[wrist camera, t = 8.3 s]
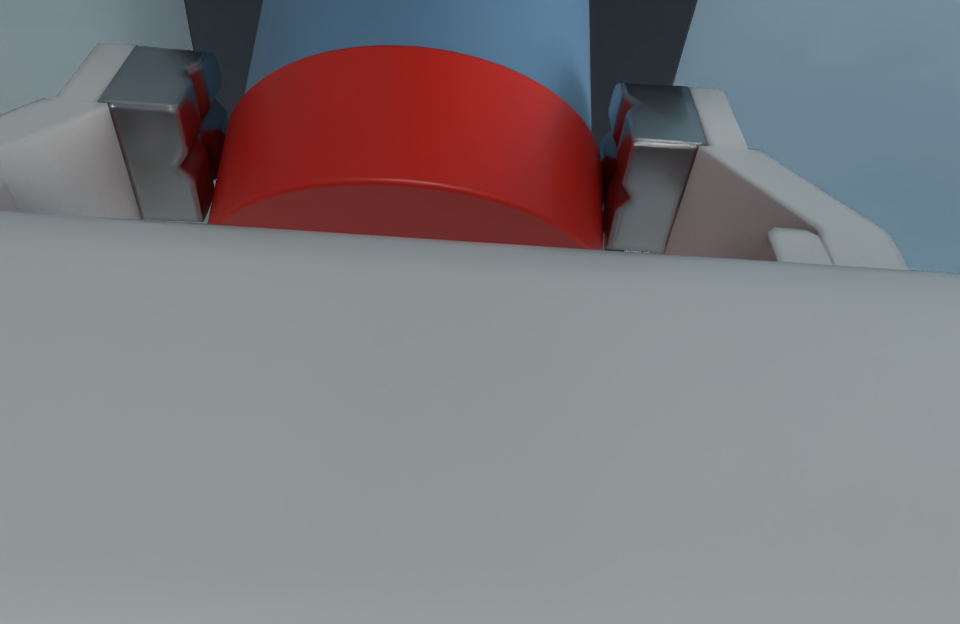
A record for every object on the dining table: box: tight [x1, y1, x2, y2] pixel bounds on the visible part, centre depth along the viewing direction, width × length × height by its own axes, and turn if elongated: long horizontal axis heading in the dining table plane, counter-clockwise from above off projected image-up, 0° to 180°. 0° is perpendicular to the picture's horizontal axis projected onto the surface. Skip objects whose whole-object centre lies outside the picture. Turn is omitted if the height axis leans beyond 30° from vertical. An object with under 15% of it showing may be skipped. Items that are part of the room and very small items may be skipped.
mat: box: [184, 0, 697, 252], centre depth 20 cm, size 22×13×1 cm, turn 175°
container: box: [208, 0, 604, 250], centre depth 14 cm, size 6×6×11 cm
